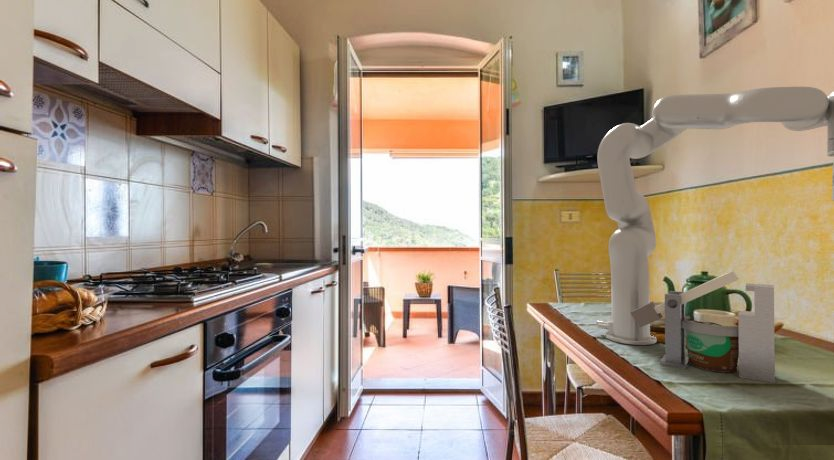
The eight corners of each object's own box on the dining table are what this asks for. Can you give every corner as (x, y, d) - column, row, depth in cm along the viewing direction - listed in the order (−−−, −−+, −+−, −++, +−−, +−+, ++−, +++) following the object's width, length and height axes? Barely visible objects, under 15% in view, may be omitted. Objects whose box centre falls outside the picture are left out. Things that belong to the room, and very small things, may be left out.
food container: (669, 360, 95) (668, 317, 95) (687, 357, 97) (687, 315, 97) (725, 377, 83) (724, 329, 83) (744, 373, 86) (744, 326, 86)
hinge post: (659, 364, 92) (659, 294, 93) (666, 356, 99) (665, 290, 99) (685, 369, 89) (685, 296, 89) (691, 360, 95) (690, 292, 95)
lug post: (739, 376, 84) (738, 285, 84) (740, 370, 88) (739, 283, 88) (774, 383, 81) (773, 287, 81) (774, 376, 85) (773, 285, 85)
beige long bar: (639, 327, 97) (629, 312, 99) (643, 325, 100) (633, 310, 101) (741, 284, 85) (728, 267, 86) (742, 282, 87) (729, 266, 89)
